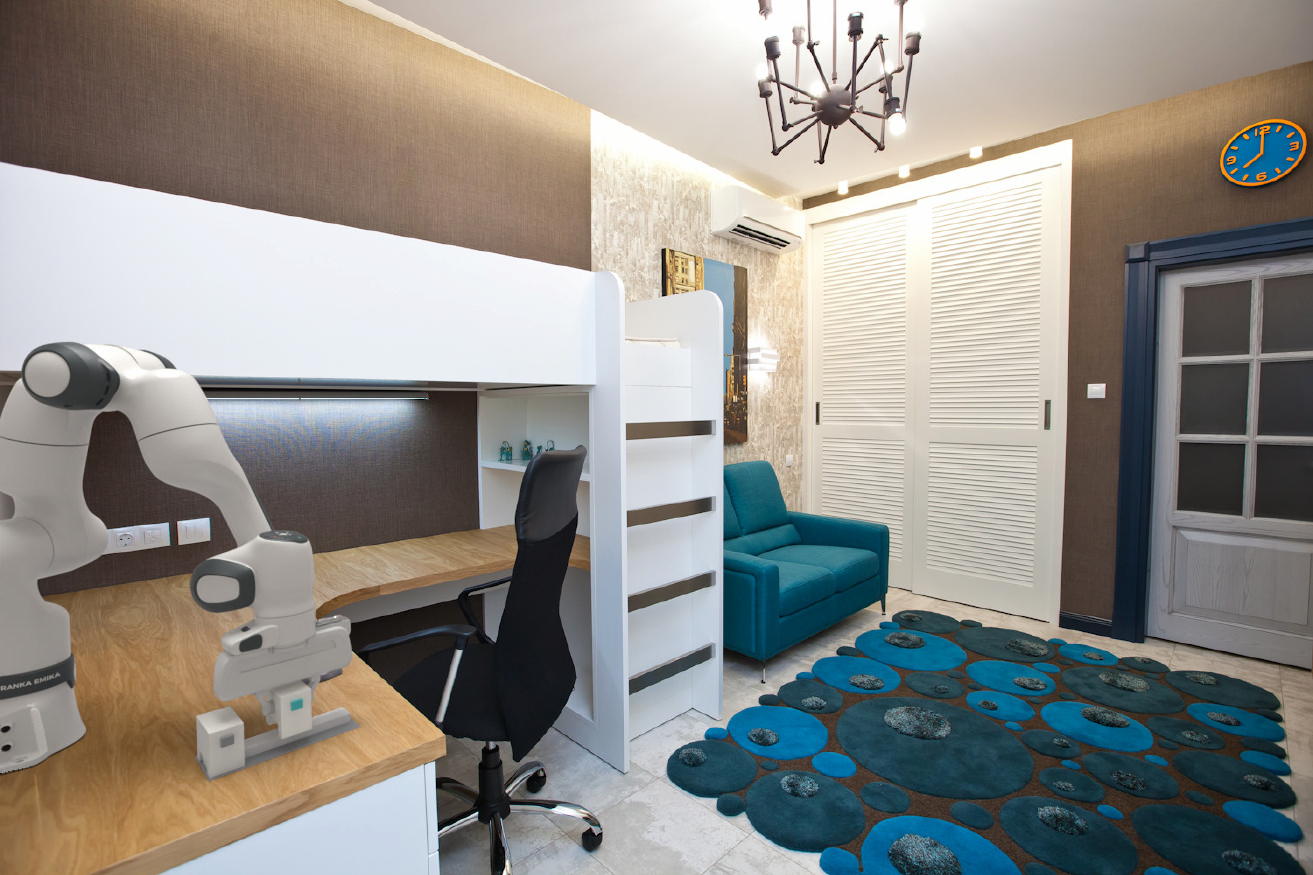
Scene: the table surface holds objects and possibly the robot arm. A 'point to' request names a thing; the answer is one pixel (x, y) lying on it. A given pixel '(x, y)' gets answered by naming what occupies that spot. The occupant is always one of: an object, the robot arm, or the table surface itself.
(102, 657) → the table surface
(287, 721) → the block
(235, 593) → the robot arm
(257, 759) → the rail plate
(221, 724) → the white grey-marked block
